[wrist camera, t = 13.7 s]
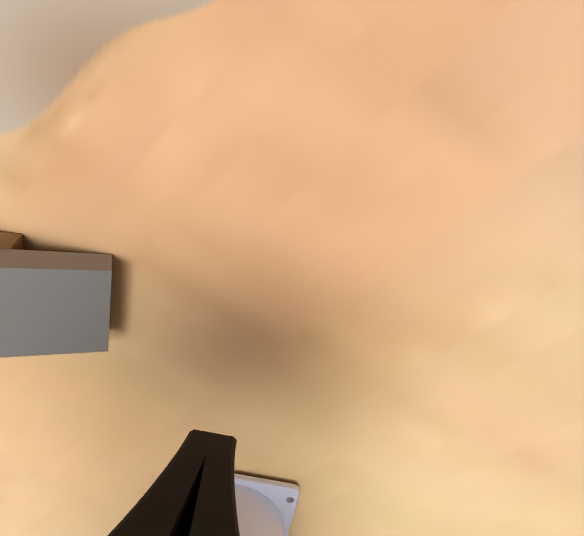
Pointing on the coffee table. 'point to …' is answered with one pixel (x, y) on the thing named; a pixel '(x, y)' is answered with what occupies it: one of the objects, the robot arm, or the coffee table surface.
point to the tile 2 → (11, 241)
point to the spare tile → (54, 302)
